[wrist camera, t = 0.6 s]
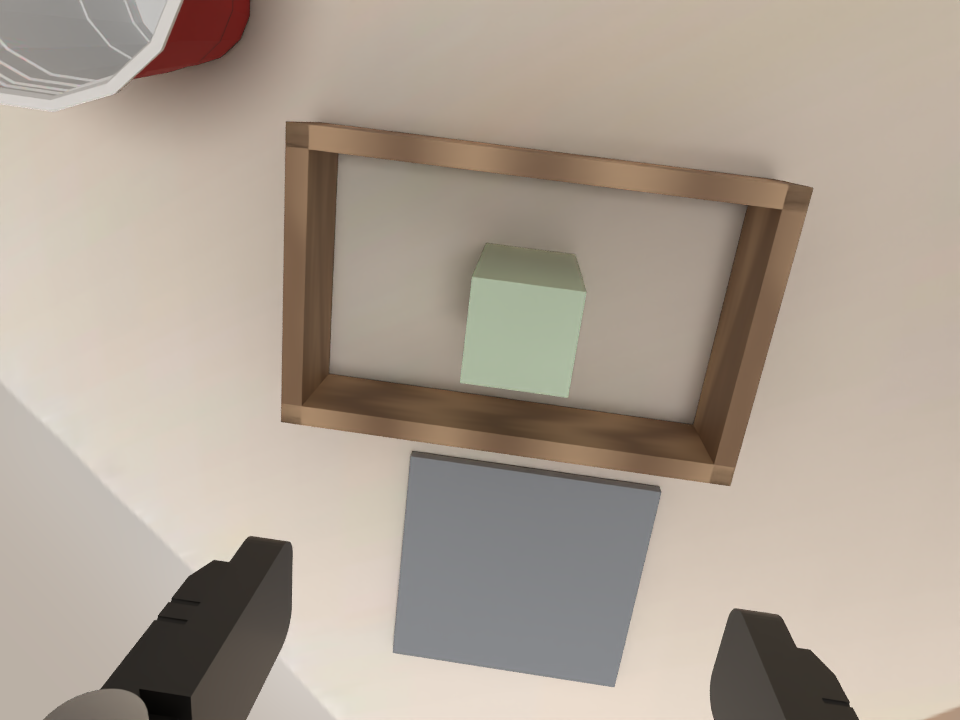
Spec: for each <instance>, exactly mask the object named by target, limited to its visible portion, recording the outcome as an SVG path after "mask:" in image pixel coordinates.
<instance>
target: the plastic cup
mask: <svg viewBox="0 0 960 720" xmlns="http://www.w3.org/2000/svg"><path fill="white" fill-rule="evenodd" d="M249 16H250V0H0V104H2V105H9V106H16V107H22V108H29V109H36V110H43V111H50V112H55V111H59V110H62V109H66V108H69V107H72V106H76V105H79V104H83V103H86V102H90V101H93V100H96V99H100V98H103V97H107V96H110V95H114V94H116V93H118V92H119V91H120V90H121V89H122V88H124V87H125V86H126V85H127V84H128V83H129V82H130V81H131V80H132V79H136V78H141V77H146V76H152V75H157V74H162V73H168V72H172V71H175V70H178V69H181V68H184V67H188V66H193V65H198V64H201V63H205V62H208V61H211V60H214V59H217V58H220V57H221V56H222V55H224V54H225V53H226V52H227V51H228V50H229V49H230V48H232V47H233V46H234V45H235V44H236V43H237V42H238V41H239V40H240V39H241V36H242V34H243V31H244V29H245V26H246V24H247V21H248V19H249Z"/></svg>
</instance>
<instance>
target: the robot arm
mask: <svg viewBox="0 0 960 720" xmlns="http://www.w3.org/2000/svg"><path fill="white" fill-rule="evenodd" d="M292 558H293V551H292V545H291V543H290V542H288V541H281V540H274V539H267V538H260V537H254V536H250V537H248V538H247V539H246V540H245V541H244V542H243V544H242V545H241V547H240V548H239V549H238V551H237V552H236V554H235V555H234V556H233V558H232V559H231V561H230V562H224V561H217V560H213V561H212V562H210V563H209V564H207V565H206V566H204V567H203V568H201V569H199V570H198V571H196V572H195V573H193V574H192V575H190V576H189V577H188V578H187V579H186V580H185V582H184V583H183V584H182V586H181V587H180V588H179V589H178V591H177V592H176V593H175V595H174V596H173V597H172V601H171V602H168V604H167V605H166V606H165V607H164V609H163V610H162V611H161V612H160V614H159V615H158V619H157V620H154V621H153V623H152V624H151V625H150V627H149V628H148V629H147V631H146V632H145V633H144V634H143V636H142V637H141V638H140V639H139V641H138V642H137V643H136V644H135V646H134V647H133V648H132V650H131V651H130V652H129V654H128V655H127V656H126V657H125V658H124V660H123V661H122V662H121V664H120V665H119V666H118V667H117V669H116V670H115V671H114V672H113V674H112V675H111V676H110V678H109V679H108V680H107V681H106V683H105V684H104V685H103V687H102V688H101V689H100V690H95V691H92V692H87V693H84V694H82V695H79V696H77V697H74V698H72V699H70V700H68V701H67V702H65V703H63V704H62V705H60V706H58V707H57V708H56V709H55V710H53V711H52V712H51V713H50V714H48V716H46V717H45V718H44V719H43V720H246V719H247V717H248V715H249V713H250V710H251V708H252V707H253V705H254V703H255V701H256V699H257V697H258V695H259V693H260V691H261V689H262V687H263V684H264V683H265V680H266V678H267V676H268V674H269V672H270V670H271V668H272V666H273V664H274V662H275V660H276V658H277V656H278V654H279V652H280V650H281V648H282V646H283V644H284V641H285V639H286V636H287V632H288V628H289V624H290V619H291V611H292ZM710 703H711V710H712V714H713V718H714V720H859V719H858V717H857V715H856V713H855V711H854V709H853V708H852V707H850V706H849V703H850V702H849V700H848V698H847V696H846V695H845V693H844V691H843V689H842V687H841V685H840V683H839V681H838V680H837V678H836V676H835V674H834V673H833V672H832V671H831V670H830V669H829V668H828V667H827V666H826V665H825V664H824V663H823V662H822V661H821V660H820V659H819V658H818V657H817V656H816V655H815V654H814V653H813V652H812V651H811V650H808V649H801V648H797V647H796V645H795V643H794V641H793V639H792V637H791V635H790V633H789V631H788V629H787V627H786V625H785V623H784V621H783V619H782V618H781V617H780V616H779V615H777V614H771V613H764V612H757V611H750V610H743V609H737V608H735V609H733V610H732V611H731V613H730V615H729V617H728V620H727V624H726V627H725V630H724V634H723V637H722V641H721V644H720V648H719V651H718V654H717V658H716V661H715V665H714V668H713V672H712V676H711V682H710Z"/></svg>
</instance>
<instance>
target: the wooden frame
mask: <svg viewBox="0 0 960 720" xmlns="http://www.w3.org/2000/svg"><path fill="white" fill-rule="evenodd" d="M338 153H341V154H349V155H357V156H365V157H373V158H381V159H389V160H397V161H405V162H412V163H420V164H428V165H436V166H444V167H452V168H460V169H468V170H475V171H483V172H491V173H499V174H507V175H515V176H523V177H531V178H538V179H546V180H554V181H562V182H570V183H578V184H586V185H594V186H601V187H609V188H617V189H625V190H633V191H641V192H649V193H657V194H664V195H672V196H680V197H688V198H696V199H704V200H712V201H720V202H727V203H735V204H743V205H748V207H747V211H746V215H745V219H744V223H743V227H742V231H741V235H740V239H739V243H738V247H737V251H736V255H735V259H734V263H733V267H732V271H731V275H730V279H729V283H728V287H727V291H726V295H725V299H724V303H723V307H722V311H721V315H720V319H719V323H718V327H717V331H716V335H715V339H714V343H713V347H712V352H711V356H710V360H709V364H708V368H707V372H706V376H705V380H704V384H703V388H702V392H701V396H700V400H699V404H698V408H697V412H696V416H695V420H694V424H693V425H691V424H684V423H677V422H670V421H662V420H655V419H648V418H641V417H634V416H627V415H619V414H612V413H605V412H598V411H591V410H584V409H577V408H569V407H562V406H555V405H548V404H541V403H534V402H527V401H519V400H512V399H505V398H498V397H491V396H484V395H476V394H469V393H462V392H455V391H448V390H441V389H434V388H426V387H419V386H412V385H405V384H398V383H391V382H383V381H376V380H369V379H362V378H355V377H348V376H341V375H333V374H329V358H330V335H331V311H332V287H333V263H334V239H335V215H336V192H337V168H338ZM812 191H813V188H812V187H807V186H803V185H798V184H794V183H789V182H785V181H780V180H776V179H768V178H760V177H752V176H744V175H736V174H728V173H720V172H712V171H704V170H696V169H688V168H680V167H672V166H664V165H656V164H648V163H640V162H632V161H624V160H616V159H608V158H600V157H592V156H584V155H576V154H568V153H560V152H552V151H544V150H536V149H528V148H520V147H512V146H504V145H496V144H488V143H480V142H472V141H464V140H457V139H449V138H441V137H433V136H425V135H417V134H409V133H401V132H393V131H385V130H377V129H369V128H361V127H353V126H345V125H337V124H329V123H321V122H286V151H285V212H284V274H283V336H282V397H281V422H285V423H292V424H299V425H306V426H313V427H320V428H327V429H334V430H341V431H348V432H355V433H362V434H369V435H376V436H383V437H390V438H397V439H404V440H411V441H418V442H425V443H432V444H439V445H446V446H453V447H460V448H467V449H474V450H481V451H488V452H495V453H502V454H509V455H516V456H523V457H530V458H537V459H544V460H551V461H558V462H565V463H572V464H579V465H586V466H593V467H600V468H607V469H614V470H621V471H628V472H635V473H642V474H649V475H656V476H663V477H670V478H677V479H684V480H691V481H698V482H705V483H712V484H719V485H726V486H730V485H731V481H732V478H733V474H734V471H735V467H736V463H737V460H738V456H739V453H740V449H741V446H742V442H743V438H744V435H745V431H746V428H747V424H748V420H749V417H750V413H751V410H752V406H753V403H754V399H755V395H756V392H757V388H758V385H759V381H760V378H761V374H762V370H763V367H764V363H765V360H766V356H767V353H768V349H769V345H770V342H771V338H772V335H773V331H774V327H775V324H776V320H777V317H778V313H779V310H780V306H781V302H782V299H783V295H784V292H785V288H786V285H787V281H788V277H789V274H790V270H791V267H792V263H793V259H794V256H795V252H796V249H797V245H798V242H799V238H800V234H801V231H802V227H803V224H804V220H805V217H806V213H807V209H808V206H809V202H810V199H811V195H812Z"/></svg>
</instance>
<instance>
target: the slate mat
mask: <svg viewBox="0 0 960 720" xmlns="http://www.w3.org/2000/svg"><path fill="white" fill-rule="evenodd" d="M660 495H661V490H660V487H658V486H651V485H644V484H637V483H630V482H623V481H616V480H609V479H602V478H595V477H588V476H581V475H574V474H567V473H560V472H553V471H546V470H539V469H532V468H525V467H518V466H512V465H505V464H498V463H491V462H484V461H477V460H470V459H463V458H456V457H449V456H442V455H435V454H428V453H421V452H414V451H412V454H411V458H410V469H409V480H408V491H407V502H406V513H405V524H404V535H403V546H402V557H401V568H400V579H399V590H398V601H397V612H396V623H395V634H394V645H393V653H397V654H404V655H410V656H416V657H423V658H429V659H436V660H442V661H449V662H455V663H461V664H468V665H474V666H481V667H487V668H494V669H500V670H506V671H513V672H519V673H526V674H532V675H539V676H545V677H552V678H558V679H564V680H571V681H577V682H584V683H590V684H597V685H603V686H609V687H615V683H616V678H617V674H618V670H619V666H620V662H621V658H622V653H623V649H624V645H625V641H626V637H627V633H628V628H629V624H630V620H631V616H632V612H633V608H634V603H635V599H636V595H637V591H638V587H639V583H640V578H641V574H642V570H643V566H644V562H645V558H646V553H647V549H648V545H649V541H650V537H651V533H652V528H653V524H654V520H655V516H656V512H657V508H658V503H659V499H660Z"/></svg>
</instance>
